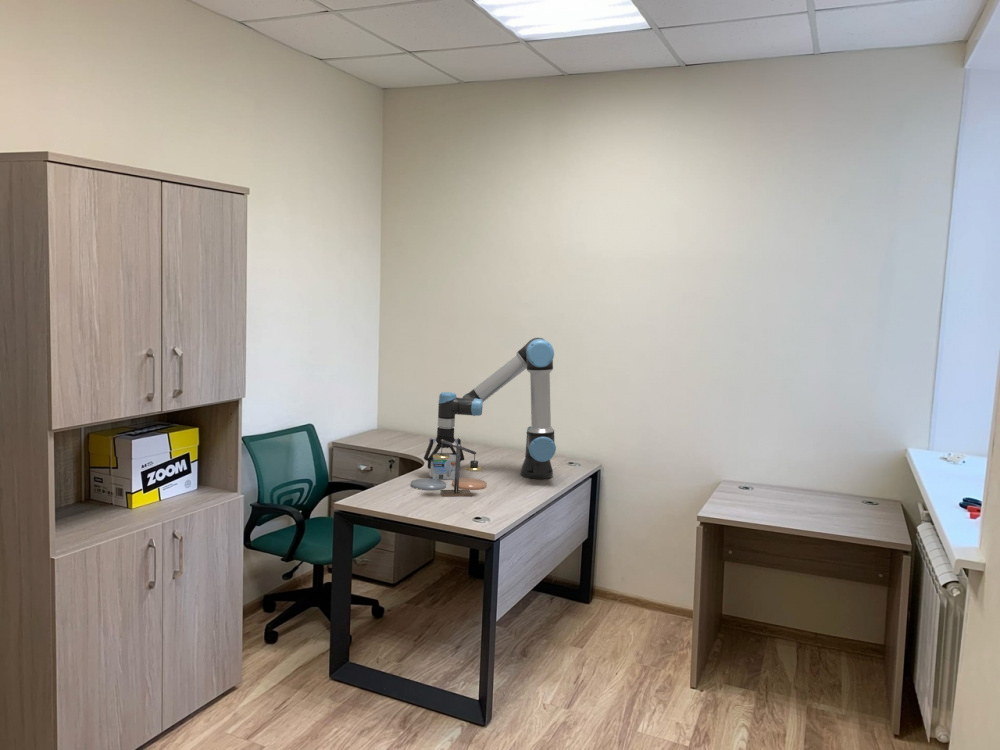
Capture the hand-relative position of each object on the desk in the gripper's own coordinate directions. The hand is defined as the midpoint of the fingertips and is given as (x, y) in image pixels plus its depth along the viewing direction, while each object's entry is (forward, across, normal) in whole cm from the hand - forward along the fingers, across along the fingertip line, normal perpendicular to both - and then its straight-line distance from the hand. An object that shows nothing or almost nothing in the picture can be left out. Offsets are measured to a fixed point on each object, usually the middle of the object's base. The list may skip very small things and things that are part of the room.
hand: (443, 475), depth 343 cm
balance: (+1, 0, +27) cm, 27 cm away
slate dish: (+1, +9, +13) cm, 16 cm away
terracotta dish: (+1, -9, +13) cm, 16 cm away
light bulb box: (+1, 0, 0) cm, 1 cm away
